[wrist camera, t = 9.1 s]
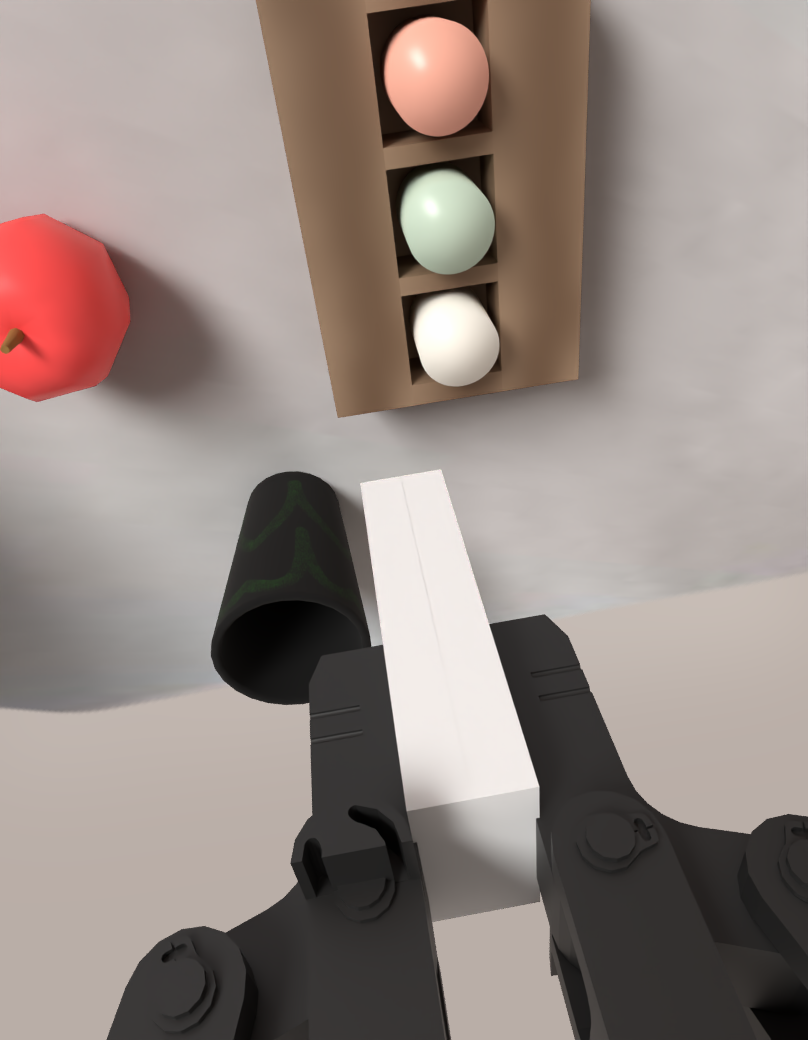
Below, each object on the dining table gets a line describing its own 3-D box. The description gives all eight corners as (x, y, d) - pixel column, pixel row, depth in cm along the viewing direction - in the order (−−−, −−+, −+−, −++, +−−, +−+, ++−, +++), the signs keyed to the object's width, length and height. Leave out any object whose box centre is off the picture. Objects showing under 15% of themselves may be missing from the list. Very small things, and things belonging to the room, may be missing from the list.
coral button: (386, 125, 30) (396, 143, 27) (374, 22, 28) (383, 27, 25) (470, 112, 30) (491, 128, 27) (465, 8, 28) (486, 12, 25)
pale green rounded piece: (400, 251, 33) (411, 280, 30) (391, 167, 31) (401, 188, 28) (477, 239, 33) (496, 267, 30) (473, 154, 31) (493, 174, 28)
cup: (379, 520, 46) (400, 663, 36) (281, 575, 48) (276, 725, 38) (308, 433, 42) (311, 569, 32) (203, 497, 43) (176, 643, 34)
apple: (71, 388, 38) (25, 469, 32) (-70, 268, 34) (-156, 334, 28) (179, 296, 36) (153, 364, 30) (43, 155, 32) (-21, 199, 25)
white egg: (413, 356, 37) (423, 392, 33) (405, 286, 34) (415, 317, 31) (483, 344, 37) (500, 379, 33) (479, 274, 34) (498, 304, 31)
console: (334, 373, 39) (337, 417, 35) (260, -11, 29) (253, -9, 25) (550, 339, 40) (578, 379, 36) (552, -54, 29) (592, -59, 25)
